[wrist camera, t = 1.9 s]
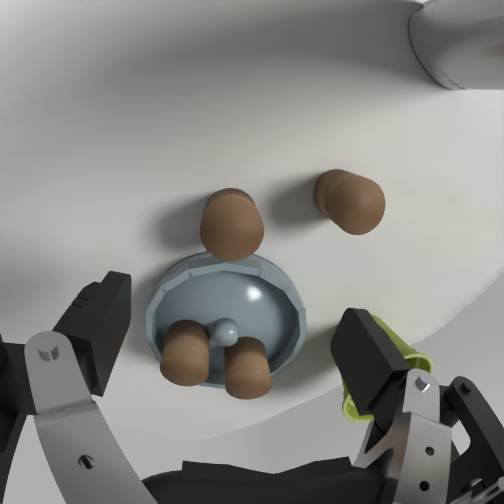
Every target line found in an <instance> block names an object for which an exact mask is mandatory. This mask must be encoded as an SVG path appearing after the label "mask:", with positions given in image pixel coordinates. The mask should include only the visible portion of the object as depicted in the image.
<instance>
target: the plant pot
mask: <svg viewBox="0 0 504 504" xmlns="http://www.w3.org/2000/svg"><path fill="white" fill-rule="evenodd" d="M371 316H372V317H373V319H374V320H375V321H376V323H377V324H378V325H379V326H380V327H381V328H383V329H384V330H385V331H386V333H387V334H388V335H389V337H390V338H391V339H390V340H392V341H393V342H394V344H395V345H396V346H395V347H397V348H398V349H399V351H400V352H401V353H402V355H403V356H404V358H405V359H406V361H407V362H408V363H409V365H410V366H411V368H412V369H422V370H424V371H427V372H428V373H430V374H432V370H433V363H432V360H431V359H430V358H429V357H428V356H427V355H425V354H422V353H418V352H417V351H416V350H415V349H413V348H410V347H409V346H408V345H407V344H406V343H405V342H404V341H403V340H402V339H401V338H400V337H399V336H398V335H397V334H396V333H395V332H394V331H393V330H392V329H390V328H389V327H388V326H387V325H386V324H385V323H384V322H383V321H382V320H381V319H380V318H378V317H376V316H373V315H371ZM341 377H342V376H341ZM342 382H343V386H344V401H343V404H342V411H343V414H344V416H345V417H346V418H347V419H349V420H351V421H354V422H368V421H371V420H372V419H373V418H374V417H373V415H365V416H359V414H358V411H357V409H356V407H355V405H354V402H353V400H352V398H351V396H350V393H349V391H348V389H347V387H346V384H345V382H344V380H343V378H342Z"/></svg>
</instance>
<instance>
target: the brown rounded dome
mask: <svg viewBox="0 0 504 504" xmlns="http://www.w3.org/2000/svg"><path fill="white" fill-rule="evenodd" d="M200 235H201V240H202V243H203V245H204V247H205V248H206V249H207V251H208V252H209V253H210V254H212V255H213V256H214V257H216V258H218V259H221V260H224V261H239V260H242V259H245V258H247V257H249V256H250V255H252V254H253V253H254V252H255V251H256V250H257V249H258V248H259V246H260V244H261V242H262V239H263V235H264V227H263V222H262V220H261V217H260V215H259V213H258V211H257V208H256V206H255V204H254V202H253V200H252V198H251V197H250V196H249V195H248V194H247V193H245V192H244V191H242V190H239V189H235V188H227V189H223V190H220V191H218V192H216V193H215V194H214V195H213V196H212V197H211V198H210V199H209V201H208V202H207V205H206V208H205V212H204V216H203V219H202V223H201V228H200Z"/></svg>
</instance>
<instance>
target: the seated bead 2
mask: <svg viewBox="0 0 504 504" xmlns="http://www.w3.org/2000/svg"><path fill="white" fill-rule="evenodd" d="M224 361H225V388H226V391H227V392H228V393H229V394H230V395H231V396H233V397H235V398H239V399H254V398H258V397H261V396H263V395H265V394H266V393H267V392H268V391H269V390H270V389H271V386H272V381H271V376H270V370H269V365H268V360H267V355H266V350H265V346H264V344H263V343H262V342H261V341H260V340H258V339H256V338H254V337H247V336H245V337H238V339H237V342H236V343H235V344H233V345H231V346H226V347H225V350H224Z"/></svg>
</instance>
